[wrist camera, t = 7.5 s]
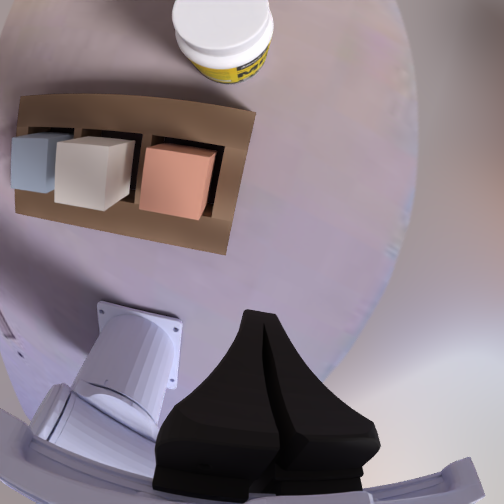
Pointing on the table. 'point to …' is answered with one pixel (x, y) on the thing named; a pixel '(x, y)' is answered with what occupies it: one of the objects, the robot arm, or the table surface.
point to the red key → (177, 179)
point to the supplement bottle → (224, 36)
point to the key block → (154, 132)
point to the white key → (93, 171)
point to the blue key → (35, 160)
